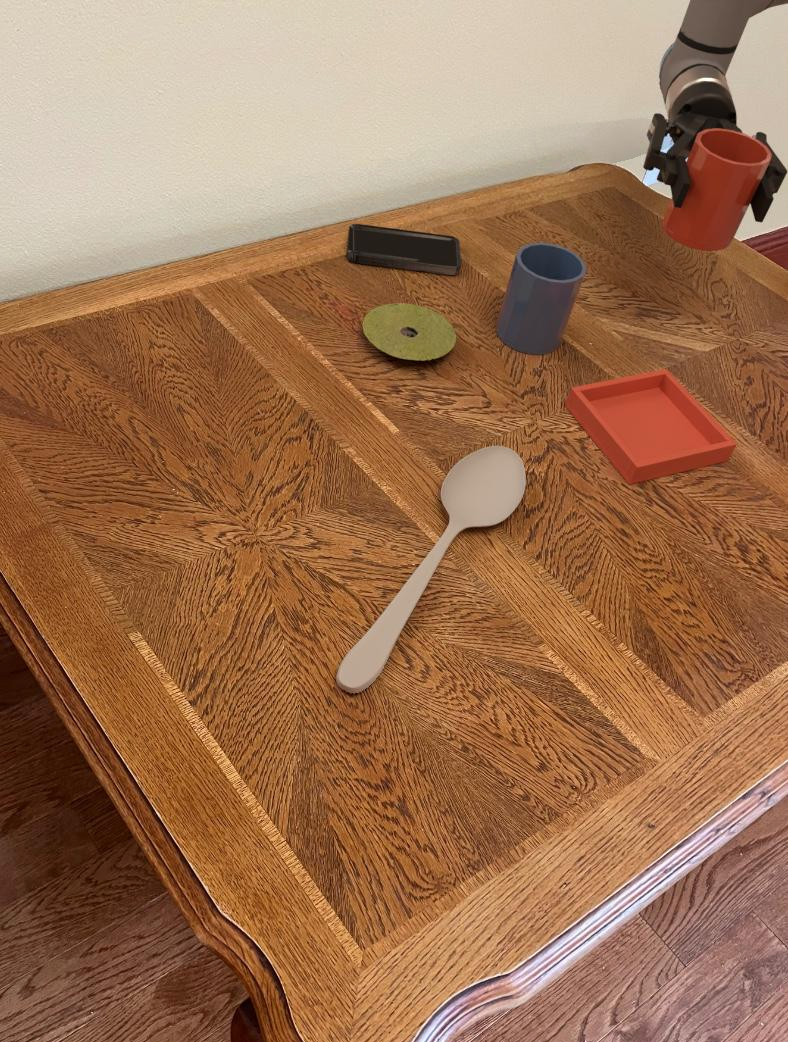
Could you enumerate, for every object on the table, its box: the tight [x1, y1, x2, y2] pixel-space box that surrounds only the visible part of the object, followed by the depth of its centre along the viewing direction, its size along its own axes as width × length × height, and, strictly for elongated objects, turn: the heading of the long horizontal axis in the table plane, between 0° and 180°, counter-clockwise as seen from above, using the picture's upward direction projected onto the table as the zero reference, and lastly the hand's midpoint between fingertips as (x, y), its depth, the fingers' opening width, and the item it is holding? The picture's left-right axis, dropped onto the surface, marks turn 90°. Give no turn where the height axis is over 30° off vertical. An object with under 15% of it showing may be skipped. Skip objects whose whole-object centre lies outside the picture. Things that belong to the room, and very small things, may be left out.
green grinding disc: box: [362, 302, 457, 362], centre depth 112 cm, size 11×11×2 cm
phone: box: [346, 223, 462, 276], centre depth 125 cm, size 8×1×15 cm
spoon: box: [335, 445, 527, 695], centre depth 90 cm, size 35×8×3 cm, turn 150°
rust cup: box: [661, 128, 772, 252], centre depth 106 cm, size 8×8×10 cm
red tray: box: [564, 368, 738, 485], centre depth 106 cm, size 14×14×3 cm
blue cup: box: [495, 242, 588, 356], centre depth 113 cm, size 8×8×10 cm
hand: (723, 203), depth 102 cm, fingers closed on rust cup, 8 cm apart
